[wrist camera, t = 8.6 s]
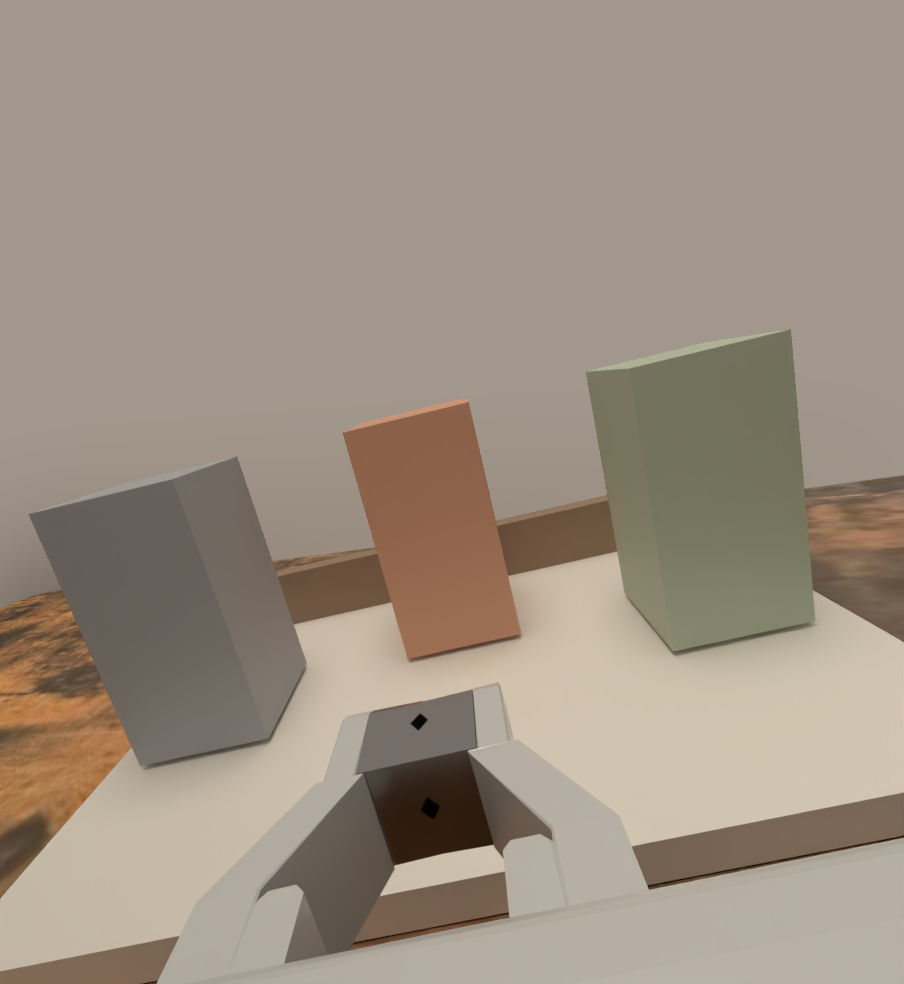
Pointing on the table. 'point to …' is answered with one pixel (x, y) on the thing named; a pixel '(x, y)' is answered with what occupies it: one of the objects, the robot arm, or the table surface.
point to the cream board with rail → (534, 721)
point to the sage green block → (707, 487)
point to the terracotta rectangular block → (434, 527)
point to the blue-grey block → (178, 608)
